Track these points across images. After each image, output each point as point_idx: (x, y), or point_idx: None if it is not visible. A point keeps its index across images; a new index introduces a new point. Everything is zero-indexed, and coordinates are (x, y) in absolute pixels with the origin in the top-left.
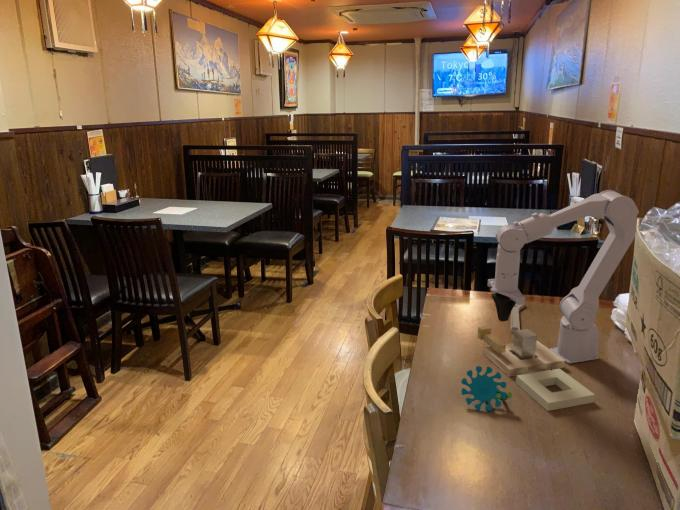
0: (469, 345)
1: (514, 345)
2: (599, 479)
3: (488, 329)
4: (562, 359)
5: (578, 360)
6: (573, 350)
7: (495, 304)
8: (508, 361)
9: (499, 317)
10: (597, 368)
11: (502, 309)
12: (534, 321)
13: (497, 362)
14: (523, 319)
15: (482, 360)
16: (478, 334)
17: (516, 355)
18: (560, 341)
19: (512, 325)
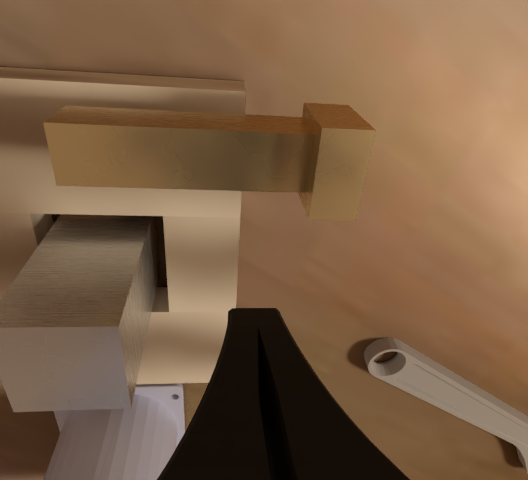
0: (380, 61)
1: (122, 255)
2: None
3: (311, 193)
4: None
5: (58, 421)
6: (56, 449)
7: (349, 429)
8: (15, 134)
9: (249, 326)
10: (10, 439)
11: (191, 430)
12: (412, 440)
13: (63, 76)
14: (448, 420)
15: (168, 21)
16: (345, 111)
17: (103, 226)
18: (108, 451)
19: (424, 368)
